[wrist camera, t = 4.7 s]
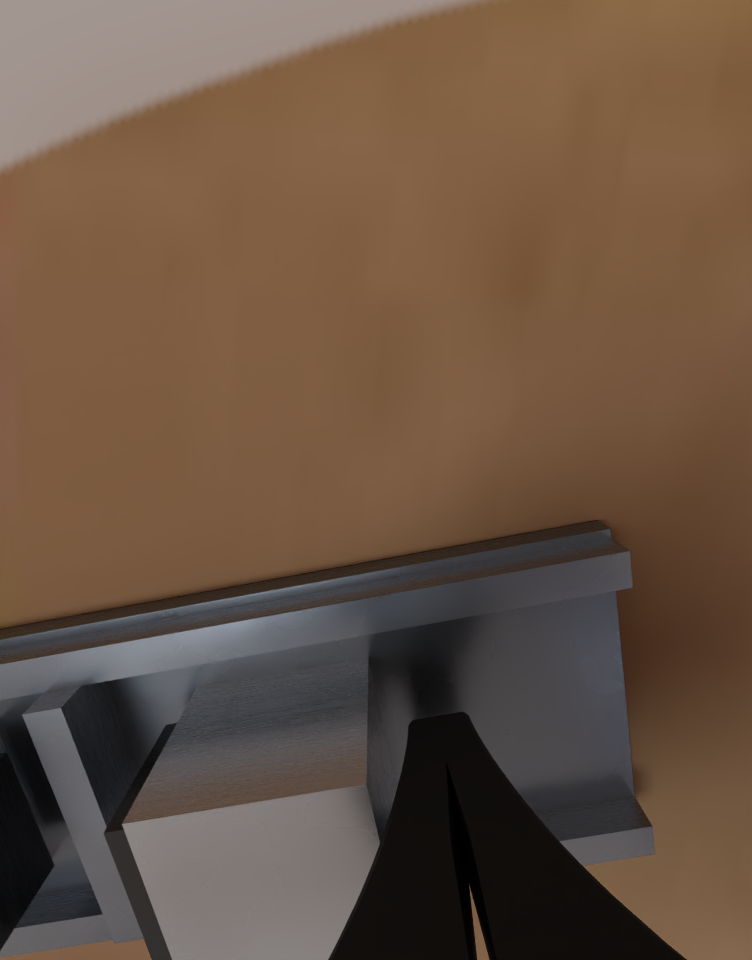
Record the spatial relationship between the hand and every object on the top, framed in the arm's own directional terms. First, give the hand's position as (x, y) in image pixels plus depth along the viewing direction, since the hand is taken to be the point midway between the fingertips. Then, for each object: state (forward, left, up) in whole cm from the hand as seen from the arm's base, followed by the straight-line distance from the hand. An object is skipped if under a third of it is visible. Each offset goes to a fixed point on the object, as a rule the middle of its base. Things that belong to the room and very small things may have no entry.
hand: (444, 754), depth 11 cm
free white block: (+3, 0, -1) cm, 3 cm away
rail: (+6, 0, -2) cm, 6 cm away
